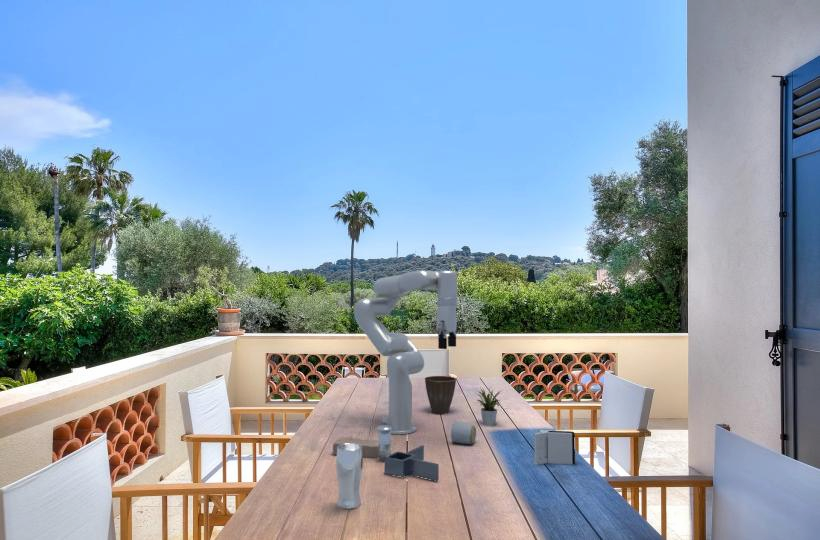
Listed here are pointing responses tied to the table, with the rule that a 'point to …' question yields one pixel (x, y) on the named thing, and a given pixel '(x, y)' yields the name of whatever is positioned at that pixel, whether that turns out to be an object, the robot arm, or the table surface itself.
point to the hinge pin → (384, 441)
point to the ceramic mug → (463, 433)
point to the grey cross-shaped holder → (411, 464)
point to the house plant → (488, 408)
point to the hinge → (554, 447)
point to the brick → (368, 446)
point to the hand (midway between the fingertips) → (447, 347)
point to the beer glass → (349, 474)
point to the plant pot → (440, 392)
